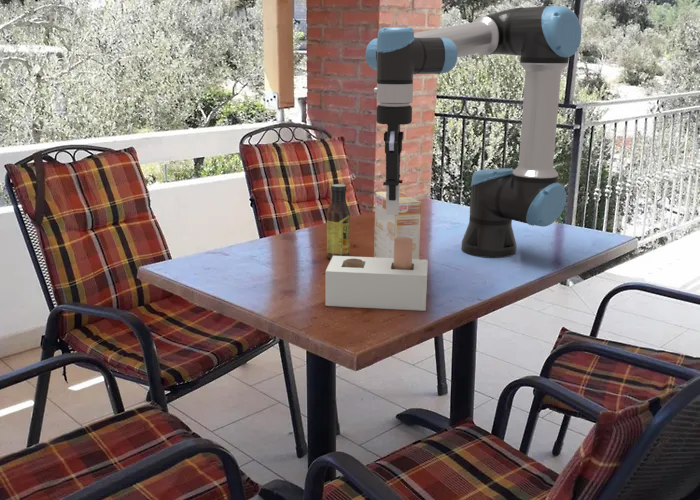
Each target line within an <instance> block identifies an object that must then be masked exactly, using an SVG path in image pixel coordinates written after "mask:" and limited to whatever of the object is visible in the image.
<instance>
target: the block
mask: <svg viewBox="0 0 700 500" xmlns="http://www.w3.org/2000/svg"><path fill="white" fill-rule="evenodd" d="M347 259H360V260H362V261H363V266H362V268H351V267H345V260H347ZM428 261H429V259H425V258H424V259H420V258H419V259H412V270H397V269H394V258H377V257H374V256H372V257H371V256H354V255H353V256H350V255H349V256H333V257H332V259H330V261H329V263H328V265H327V267H326V270H325V276H324V277H325V283H324V284H325V290H324V291H325V298H324V299H325V300H324V301H325V302H324V303H325V306H326V307H342V308H343V307H344V308H360V309H361V308H363V309H366V308H367V309H383V310H384V309H385V310H402V311H403V310H404V311H405V310H406V311H424V312H425V311H427V288H428V287H427V284H428Z"/></svg>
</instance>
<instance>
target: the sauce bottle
mask: <svg viewBox="0 0 700 500" xmlns="http://www.w3.org/2000/svg"><path fill="white" fill-rule="evenodd" d="M330 190H331V202H330V204H329V206H328V208H327V211H326V215H327V216H326V218H327V219H326V254H327V255H326V257H327V258H328V259H329V260H331V259H332V257H333V256H350V253H351V249H350V248H351V244H350V243H351V213H350V209H349V207H348V204H347V199H346V197H347V195H346V194H347V185H346V184H343V183H336V184H335V183H334V184H331V186H330Z"/></svg>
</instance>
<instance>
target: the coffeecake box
mask: <svg viewBox="0 0 700 500" xmlns="http://www.w3.org/2000/svg"><path fill="white" fill-rule="evenodd" d="M374 198H375V203H374V204H375V205H374V206H375V207H374V242H373V243H374V247H373V251H374V252H373V254H374V255H373V257H377V258H394V239H395V238H398V237H407V238H411V239H412V240H413V242H412V259H420V243H421V242H420V241H421V223H422V222H421V221H422V220H421V219H422V218H421V217H422V213H421V212H422V202H421V201H420V200H418V199H415V198H414V197H411V196H410V195H408V194H406V193H405V192H403V191H401V190H399V214H398V215H387V214H386V191H375V197H374Z"/></svg>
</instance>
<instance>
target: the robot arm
mask: <svg viewBox="0 0 700 500" xmlns="http://www.w3.org/2000/svg"><path fill="white" fill-rule="evenodd" d="M581 40H582V28H581V23H580V20H579V18H578V17H577V14H576V13H575V11H573V10H572V9H571V8H569V7H568V6H567V7H566V6H564V5H563V6H560V5H559V6H558V5H548V6H546V5H545V6H531V7H530V6H529V7H521V6H520V7H514V8H510V9H505V10H501V11H498V12H494V13H491V14H486V15H481V16H478V17H477V18H476V19H474V20H473V22H467V23H462V24H457V25H452V26H446V27H440V28H435V29H428V30H425V31H424V30H423V31H419V32H418V31H417V32H415V30H414V29H413V28H412V27H382V28H380V29H379V30H378V32H377V38H376V37H375V38H374V39H373V38H372V40H370V42H369V43H368V44H367V46H366V50H365V60H366V61H365V62H366V63H367V65H368V67H369V68H370V69H372V70H373V71H376V87H375V88H373V92H374V93H377V94H376V102H377V103H378V104H379V105H377V106H376V108H375V110H376V111H375V112H376V114H375V115H376V117H375V119H376V120H375V121H376V123H377V124H380V125H387V129H386V130H385V131H384V133H383V141H384V153H385V181H383V183H382V185H383V186H386V188H385V190H386V214H387V215H398V214H399V191H400V184H403V179H400V178H401V174H400V173H401V153H402V151H403V140H404V135H405V134H404V131H401V125H410V124H411V123H412V122H413V106H412V105H411V104H412V103H413V97H414V96H413V95H414V93H413V92H414V75H440V74H446V73H449V72H451V71H452V70H453V69H454V68H455V66H456V65H457V62H458V58H461V57H466V56H470V55H474V54H478V55H481V56H489V55H507V56H508V55H509V56H519V65H521V67H522V68H523V69H524V71H525V75H524V84H523V85H524V87H523V100H522V101H523V103H522V114H521V129H520V130H521V131H520V140H519V141H520V143H519V144H520V145H519V156H518V157H519V158H518V165H517V167H516V168H511V167H510V168H508V167H507V168H505V167H502V168H486V169H479V170H476V171H474V173H473V174H472V176H471V184H470V197H469V198H470V199H469V200H470V201H469V221H468V225H467V227H466V230H465V232H464V234H463V238H462V240H461V251H462V252H463V253H466V254H467V255H471V256H475V257H482V258H490V259H491V258H496V259H497V258H506V257H510V256H513V255H515V254H516V253H517V241H516V238H515V234H514V229H513V221H514V222H515V221H516V222H518V223H519V222H520V223H523V224H528V225H529V226H537V227H548V226H550V225H552V224H554V223H555V222H556V221H557V220H558V218H560V216H561V215H562V213H563V211H564V209H565V207H566V203H567V191H566V189H565V186H563V184H562V183H559V172H557V170H556V169H555V168H554V160H555V159H554V158H555V149H556V138H557V137H556V136H557V135H556V134H557V125H558V113H559V112H558V111H559V100H560V91H561V90H560V89H561V77H562V71H563V70H564V69H565V68H566V67H567V66H568V65H569V59H570V57H572V56H573V55H575V54H576V53H577V51H578V48H579V47H580V45H581Z"/></svg>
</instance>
